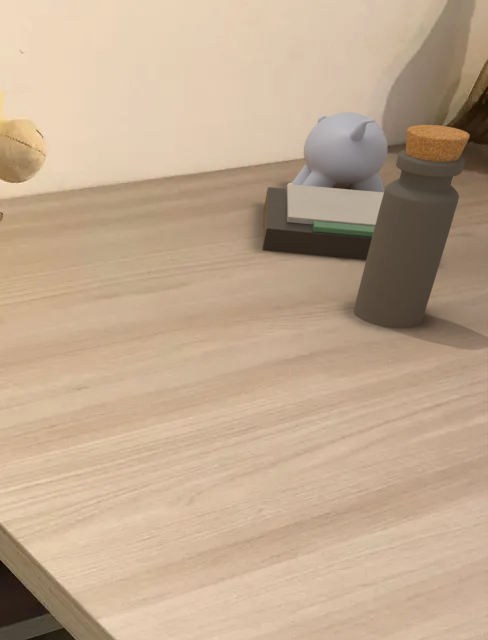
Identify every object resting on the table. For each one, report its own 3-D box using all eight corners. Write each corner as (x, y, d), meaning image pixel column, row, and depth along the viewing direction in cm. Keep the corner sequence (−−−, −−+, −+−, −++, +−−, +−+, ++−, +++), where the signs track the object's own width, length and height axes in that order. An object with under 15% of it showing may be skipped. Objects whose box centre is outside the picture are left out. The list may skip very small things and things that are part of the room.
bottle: (382, 335, 88) (436, 142, 78) (338, 310, 92) (384, 125, 82) (436, 326, 89) (494, 137, 80) (390, 302, 94) (441, 120, 84)
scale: (412, 223, 112) (420, 194, 110) (427, 269, 101) (437, 237, 99) (263, 209, 114) (268, 181, 113) (261, 253, 103) (267, 221, 101)
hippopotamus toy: (369, 179, 125) (391, 92, 119) (394, 217, 114) (419, 122, 108) (280, 174, 126) (297, 87, 120) (295, 211, 114) (314, 116, 108)
